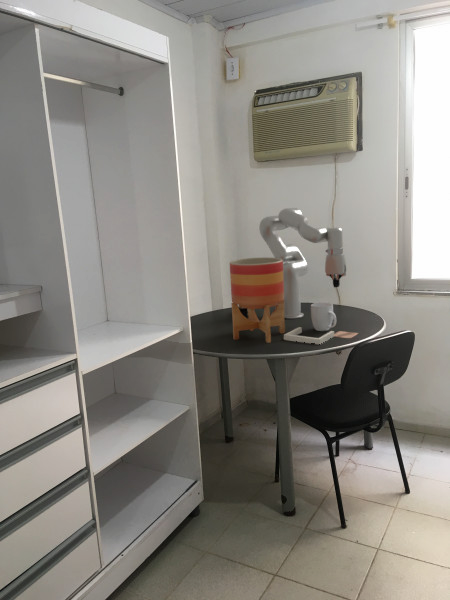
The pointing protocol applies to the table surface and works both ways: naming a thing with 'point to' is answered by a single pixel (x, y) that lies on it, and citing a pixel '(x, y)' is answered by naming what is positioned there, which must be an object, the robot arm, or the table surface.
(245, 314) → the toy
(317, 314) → the mug
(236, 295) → the planter
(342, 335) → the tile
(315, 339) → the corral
